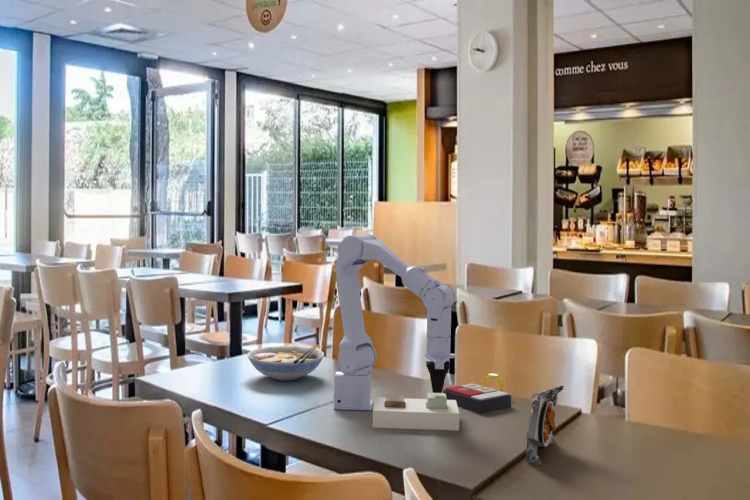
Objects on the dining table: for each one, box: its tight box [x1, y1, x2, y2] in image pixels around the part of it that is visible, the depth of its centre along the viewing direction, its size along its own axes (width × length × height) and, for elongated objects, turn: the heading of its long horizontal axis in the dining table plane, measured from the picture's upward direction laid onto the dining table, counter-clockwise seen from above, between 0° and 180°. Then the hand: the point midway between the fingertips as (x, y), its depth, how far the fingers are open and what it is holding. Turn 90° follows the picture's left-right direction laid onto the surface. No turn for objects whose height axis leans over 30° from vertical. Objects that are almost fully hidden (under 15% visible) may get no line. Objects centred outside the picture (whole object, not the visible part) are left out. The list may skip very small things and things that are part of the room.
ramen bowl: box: [247, 345, 325, 382], centre depth 200 cm, size 25×23×8 cm
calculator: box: [442, 382, 512, 415], centre depth 178 cm, size 11×4×15 cm
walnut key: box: [385, 395, 405, 408], centre depth 161 cm, size 4×4×4 cm
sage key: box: [426, 392, 447, 409], centre depth 161 cm, size 4×4×4 cm
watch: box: [481, 372, 505, 392], centre depth 186 cm, size 6×3×6 cm, turn 53°
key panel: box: [372, 396, 460, 431], centre depth 161 cm, size 20×11×4 cm, turn 87°
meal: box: [525, 385, 565, 466], centre depth 142 cm, size 15×4×13 cm, turn 153°
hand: (437, 392), depth 161 cm, fingers closed
